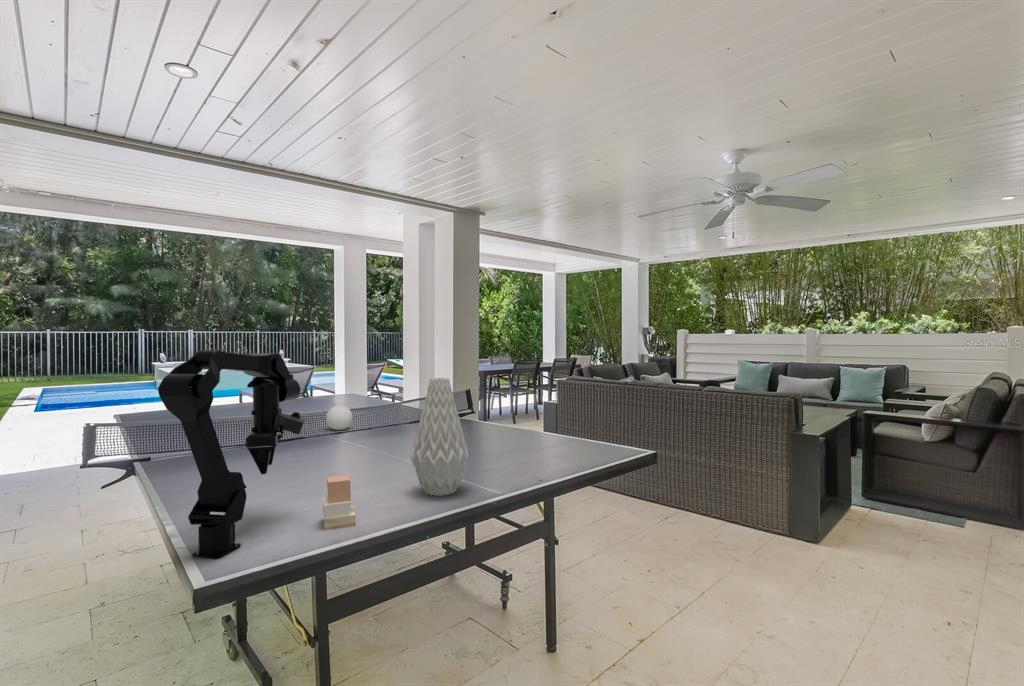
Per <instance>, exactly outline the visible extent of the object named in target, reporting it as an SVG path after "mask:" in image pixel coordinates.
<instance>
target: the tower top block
mask: <svg viewBox="0 0 1024 686" xmlns="http://www.w3.org/2000/svg"><path fill="white" fill-rule="evenodd" d="M351 503H352V502H351V501H345V502H338V503H330V504H329V503H328V497H323V498H322V512H323V519H324V518H331V517H338V516H345V515H351V506H352V505H351Z"/></svg>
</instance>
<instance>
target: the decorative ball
mask: <svg viewBox="0 0 1024 686" xmlns="http://www.w3.org/2000/svg"><path fill="white" fill-rule="evenodd" d="M352 422H353V413H352V410H351V409H350V408H349V407H348V406H346V405H339V404H338V405H335V406H332V407H330V408H329V410H328V411H327V413H326V423H327V425H328V426H329V427H330V428H331V429H332V430H336V431H343V430H345V429H348V428H349V427H350V425H351V424H352Z"/></svg>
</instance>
